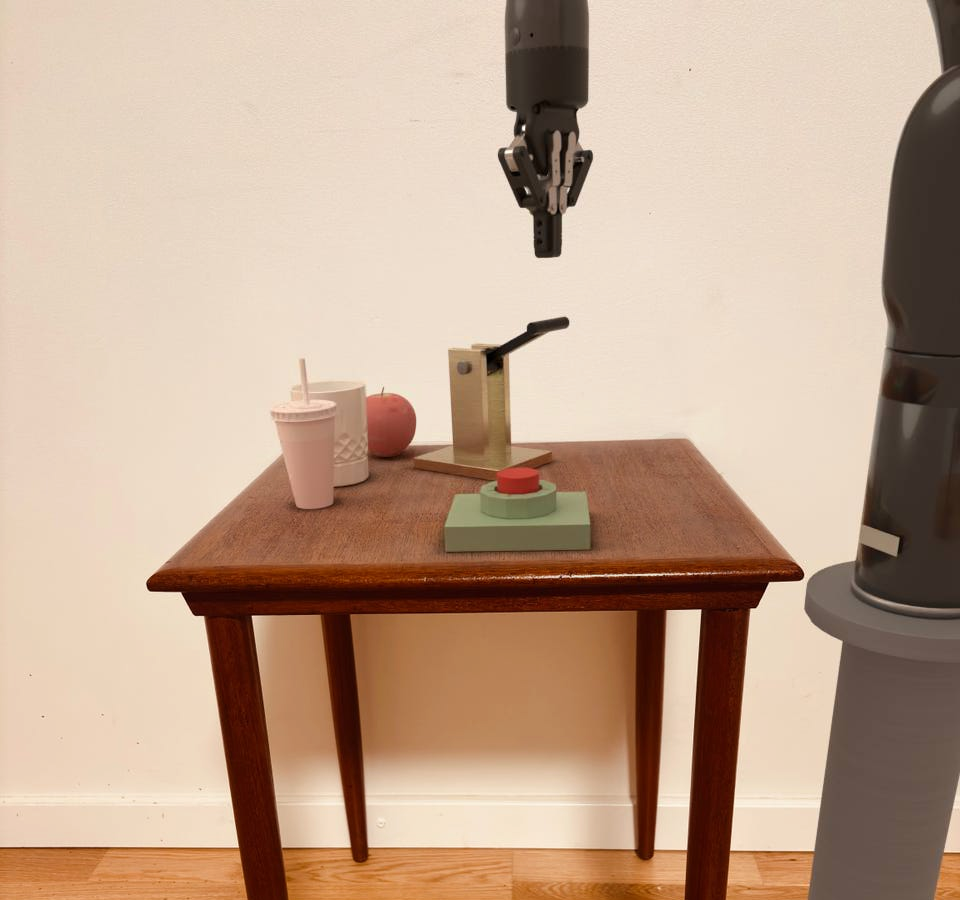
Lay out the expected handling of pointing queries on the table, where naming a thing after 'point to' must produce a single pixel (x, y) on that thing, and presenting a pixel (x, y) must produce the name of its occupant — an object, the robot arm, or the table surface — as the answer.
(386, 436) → the apple
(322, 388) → the white cup
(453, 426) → the tan pivot stand
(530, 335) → the lever
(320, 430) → the smoothie
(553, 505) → the button block
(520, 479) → the button
